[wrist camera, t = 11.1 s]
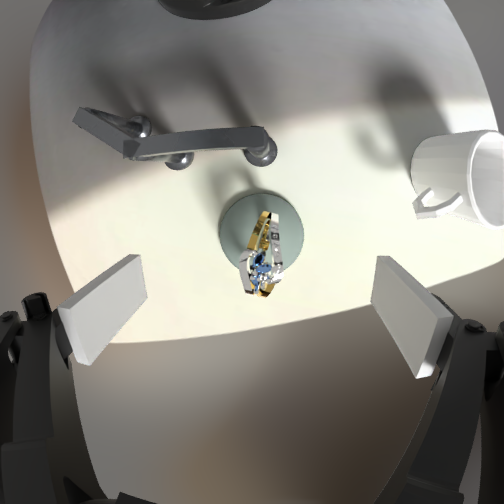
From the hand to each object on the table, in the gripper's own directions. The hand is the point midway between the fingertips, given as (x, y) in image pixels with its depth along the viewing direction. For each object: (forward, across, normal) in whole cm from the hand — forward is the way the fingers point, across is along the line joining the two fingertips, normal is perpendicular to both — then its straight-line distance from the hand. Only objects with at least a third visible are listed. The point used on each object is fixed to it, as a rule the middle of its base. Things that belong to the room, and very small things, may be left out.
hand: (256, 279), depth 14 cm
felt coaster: (+13, 0, -1) cm, 13 cm away
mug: (+13, +17, +5) cm, 22 cm away
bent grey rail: (+13, -6, +9) cm, 17 cm away
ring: (+12, 0, -1) cm, 12 cm away
